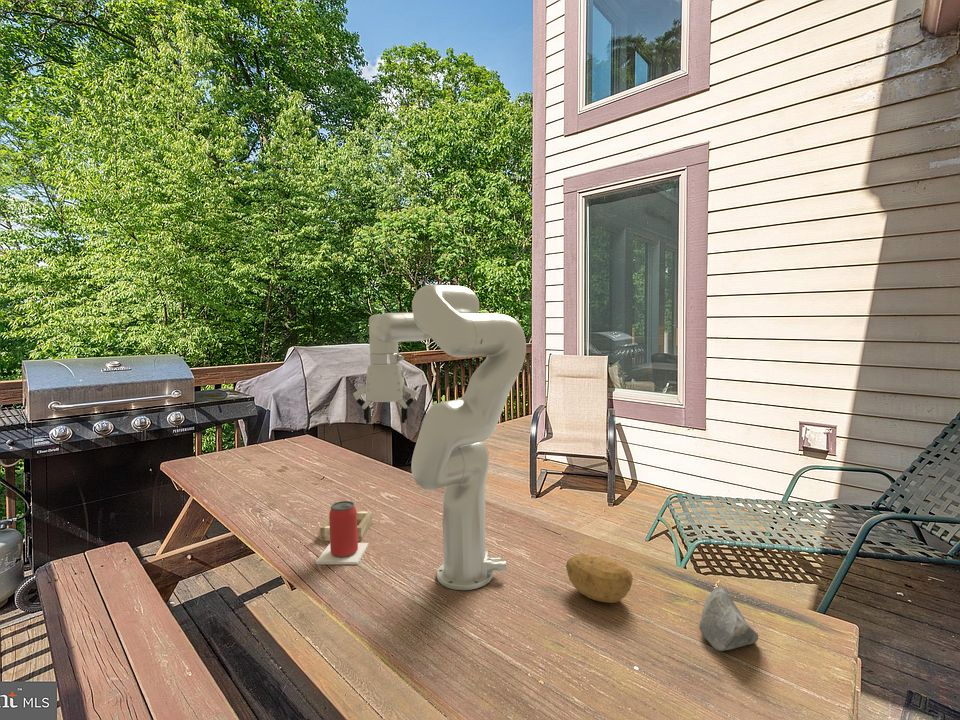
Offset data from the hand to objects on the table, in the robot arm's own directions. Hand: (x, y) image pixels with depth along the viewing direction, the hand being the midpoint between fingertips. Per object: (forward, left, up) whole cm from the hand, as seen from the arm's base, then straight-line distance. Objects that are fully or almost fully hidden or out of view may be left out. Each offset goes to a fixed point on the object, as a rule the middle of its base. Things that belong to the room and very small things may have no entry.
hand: (386, 422), depth 132 cm
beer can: (+8, +15, -30) cm, 34 cm away
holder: (+11, +2, -30) cm, 32 cm away
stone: (-70, +46, -30) cm, 89 cm away
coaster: (+8, +15, -30) cm, 34 cm away
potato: (-51, +33, -30) cm, 68 cm away
